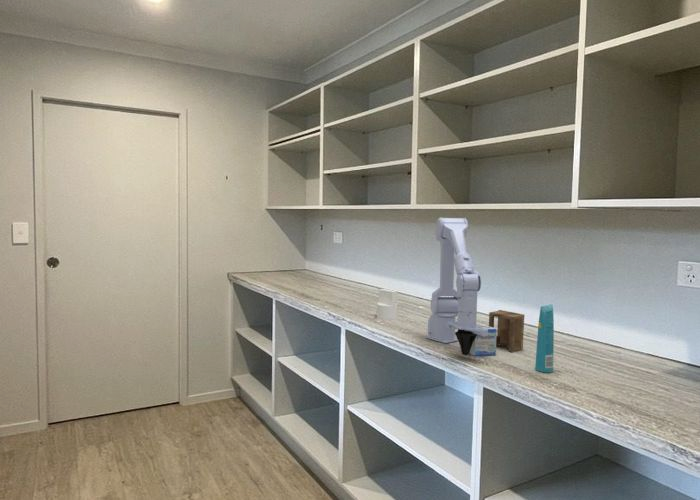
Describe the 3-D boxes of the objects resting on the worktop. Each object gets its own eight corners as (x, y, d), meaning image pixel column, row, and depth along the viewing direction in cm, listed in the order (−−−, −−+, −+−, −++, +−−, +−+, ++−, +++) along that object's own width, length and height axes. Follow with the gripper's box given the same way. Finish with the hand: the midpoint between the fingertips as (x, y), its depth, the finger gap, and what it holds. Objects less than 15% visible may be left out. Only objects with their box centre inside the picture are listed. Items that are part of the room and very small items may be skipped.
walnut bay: (487, 346, 168) (489, 311, 168) (498, 343, 172) (500, 309, 172) (511, 352, 161) (513, 316, 160) (522, 349, 165) (524, 314, 164)
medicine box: (474, 356, 155) (475, 329, 155) (467, 352, 160) (468, 326, 159) (496, 355, 158) (497, 328, 157) (488, 351, 162) (489, 325, 161)
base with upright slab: (401, 318, 212) (402, 290, 211) (386, 320, 206) (387, 292, 206) (387, 314, 219) (388, 288, 218) (372, 317, 213) (373, 289, 212)
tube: (540, 365, 147) (543, 302, 146) (556, 369, 144) (560, 304, 143) (530, 371, 141) (534, 305, 140) (547, 375, 138) (551, 308, 137)
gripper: (440, 308, 156) (439, 350, 157) (478, 316, 144) (476, 362, 145) (455, 306, 160) (453, 347, 161) (492, 314, 149) (490, 358, 150)
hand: (465, 354), depth 153 cm, fingers closed
